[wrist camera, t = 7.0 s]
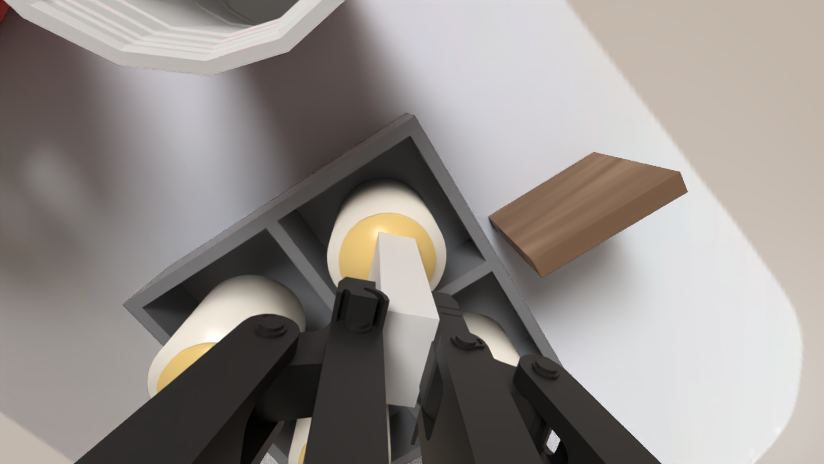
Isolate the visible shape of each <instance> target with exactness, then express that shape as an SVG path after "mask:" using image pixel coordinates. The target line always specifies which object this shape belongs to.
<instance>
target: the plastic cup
mask: <svg viewBox="0 0 824 464" xmlns="http://www.w3.org/2000/svg"><path fill="white" fill-rule="evenodd" d="M4 1H5V2H7V3H8V4H9V5H10V6H11V7H12V8H13V9H14V10H15V11H16V12H17V13H18V14H19V15H21V16H22V17H23V18H24V19H26V20H28V21H30V22H32V23H34V24H36V25H38V26H40V27H42V28H44V29H46V30H49V31H51V32H53V33H55V34H57V35H59V36H61V37H63V38H65V39H67V40H69V41H71V42H73V43H75V44H77V45H79V46H81V47H83V48H85V49H87V50H89V51H91V52H93V53H95V54H97V55H99V56H101V57H103V58H105V59H107V60H109V61H111V62H113V63H115V64H117V65H119V66H128V67H137V68H145V69H154V70H163V71H171V72H180V73H189V74H198V75H206V76H211V75H214V74H217V73H221V72H224V71H227V70H231V69H234V68H237V67H240V66H244V65H247V64H250V63H254V62H257V61H260V60H263V59H267V58H270V57H273V56H277V55H280V54H283V53H286V52H289V51H290V50H291V49H292V48H293V47H294V46H295V45H297V44H298V43H299V42H300V41H301V40H302V39H303V38H304V37H305V36H306V35H308V34H309V33H310V32H311V31H312V30H313V29H314V28H315V27H316V26H317V25H318V24H320V23H321V22H322V21H323V20H324V19H325V18H326V17H327V16H328V15H329V14H331V13H332V12H333V11H334V10H335V9H336V8H337V7H338V6H339V5H340V4H342V3H343V2H344V1H345V0H4Z"/></svg>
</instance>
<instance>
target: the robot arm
mask: <svg viewBox="0 0 824 464" xmlns="http://www.w3.org/2000/svg"><path fill="white" fill-rule="evenodd" d="M419 391H420V396H421V406H420V409H419V413H418V416H417V420H416V423H415V427H414V430H413V434H412V437H411V443H410V445H415V441H416V438H417V437H418V436H419V440H420V447H421V455H422V462H423V464H661V463H660V462H659V461H658V460H657V459H656V458H655V457H654V456H653V455H652V454H651V453H650V452H649V451H648V450H647V449H646V448H645V447H644V446H643V445H642V444H641V443H640V442H639V441H638V440H637V439H636V438H635V437H634V436H633V435H632V434H631V433H630V432H629V431H628V430H627V429H626V428H625V427H624V426H622V425H621V424H620V423H619V422H618V421H617V420H616V419H615V418H614V417H613V416H612V415H611V414H610V413H609V412H608V411H607V410H606V409H605V408H604V407H603V406H602V405H601V404H600V403H599V402H598V401H597V400H596V399H595V398H594V397H593V396H592V395H591V394H590V393H589V392H588V391H587V390H586V389H585V388H584V387H583V386H582V385H581V384H580V383H579V382H578V381H577V380H576V379H575V378H573V377H572V376H571V375H570V374H569V373H568V372H567V371H566V370H565V369H564V368H563V367H562V366H560V365H559V364H558V363H556V362H554V361H552V360H551V359H550V358H547V357H544V356H541V355H533V354H527V355H523V356H522V357H521V358H520V359H519V362H518V364H517V367H516V366H513V365H510V364H507V363H504V362H501V361H499V360H496V359H494V357H493V355H492V353H491V351H490V349H489V346H488V345H487V344H486V343H485V341H484V340H482V339H481V338H480V337H478V336H477V335H474V334H472V333H470V331H469V329H468V327H467V324H466V322H465V320H464V318H463V315H462V312H461V311H460V308H459V305H458V303H457V301H456V300H455V299H454V298H452V297H451V296H450V295H449V294H447V293H442V292H436V291H431V289H430V286H429V283H428V280H427V276H426V273H425V270H424V267H423V263H422V260H421V257H420V253H419V250H418V247H417V244H416V240H415V238H410V237H405V236H400V235H395V234H390V233H385V232H380V231H379V232H378V236H377V241H376V245H375V250H374V254H373V259H372V263H371V268H370V272H369V277H368V280H363V279H357V278H351V277H345V278H343V279H342V280H340V281H339V282H338V287H337V292H336V297H335V302H334V307H333V312H332V317H331V321H330V323H329V324H328V325H327V326H326V327H324V328H322V329H320V330H317V331H312V332H300V329H299V326H298V324H297V323H295V322H294V321H293V320H292V319H290V318H287V317H285V316H281V315H277V314H268V313H267V314H259V315H255V316H251V317H249V318H247V319H246V320H244V321H242V322H241V323H240V324H239V325H238V326H237V327H235V328H234V329H233V330H232V331H231V332H229V333H228V334H227V335H226V336H225V337H224V338H222V339H221V340H220V341H219V342H218V343H216V344H215V345H214V346H213V347H212V348H210V349H209V350H208V351H207V352H206V353H205V354H203V355H202V356H201V357H200V358H199V359H197V360H196V361H195V362H194V363H193V364H192V365H190V366H189V367H188V368H187V369H186V370H184V371H183V372H182V373H181V374H180V375H178V376H177V377H176V378H175V379H174V380H173V381H171V382H170V383H169V384H168V385H167V386H165V387H164V388H163V389H162V390H161V391H160V392H158V393H157V394H156V395H155V396H154V397H152V398H151V399H150V400H149V401H148V402H147V403H145V404H144V405H143V406H142V407H141V408H139V409H138V410H137V411H136V412H135V413H133V414H132V415H131V416H130V417H129V418H128V419H126V420H125V421H124V422H123V423H122V424H120V425H119V426H118V427H117V428H116V429H115V430H113V431H112V432H111V433H110V434H109V435H107V436H106V437H105V438H104V439H103V440H101V441H100V442H99V443H98V444H97V445H96V446H94V447H93V448H92V449H91V450H90V451H88V452H87V453H86V454H85V455H84V456H83V457H81V458H80V459H79V460H78V461H77V462H75V463H74V464H260V462H261V461H262V459H263V458H264V456H265V455H266V453H267V451H268V450H269V448H270V447H271V445H272V444H273V442H274V440H275V439H276V437H277V436H278V434H279V432H280V431H281V429H282V426H283V423H284V421H287V420H295V419H303V418H310V417H312V418H311V424H310V429H309V434H308V439H307V445H306V450H305V455H304V460H303V464H389V452H388V431H387V409H386V404H392V405H399V406H406V407H414V408H415V405H416V401H417V398H418V394H419ZM552 430H553V431H554V432H555V433H556V435H557V436H558V437H559V438H560V442H559V445H558V447H557V450H556V451H555V453H553V452H552V451H551V450H550V449H549V448H548V447H547V445H546V443H547V441H548V438H549V436H550V433H551V431H552Z"/></svg>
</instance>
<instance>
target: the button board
mask: <svg viewBox="0 0 824 464" xmlns="http://www.w3.org/2000/svg"><path fill="white" fill-rule="evenodd" d="M375 179H394V180H398V181H401V182H403V183H405V184H407V185H409V186H411V187H412V188H413V189H415V190H416V191H417V192H418V193H419V194H420V195H421V197H422V198H423V199H424V201H425V203H426V205H427V207H428V209H429V210H430V212H431V214H432V216H433V218H434V220H435V222H436V224H437V226H438V228H439V230H440V231H441V233H442V236H443V239H444V242H445V246H446V264H445V269H444V272H443V275H442V277H441V279H440V281H439V283H438V285H437V286H436V287H435V289H434V290H433V291H436V292H442V293H447V294H449V295H450V296H451V297H452V298H454V299H455V300H456V301H457V303H458V305H459V308H460V311H461V312H462V313H463V312H473V313H479V314H483V315H486V316H488V317H490V318H492V319H494V320H495V321H496V322H498V323H499V324H500V325H501V326H502V328H503V329H504V330H505V332H506V334H507V336H508V337H509V339H510V341H511V342H512V344H513V346H514V348H515V349H516V351H517V353H518V355H519V356H520V358H521V357H522V356H523V355H527V354H533V355H541V356H544V357H547V358H550V359H551V360H552V361H554V362H556V363H558V364H559V365H560V366H562V364H561V362H560V361H559V359H558V357H557V356H556V354H555V352H554V351H553V349H552V347H551V345H550V344H549V342H548V340H547V339H546V337H545V335H544V334H543V332H542V330H541V329H540V327H539V325H538V323H537V322H536V320H535V318H534V317H533V315H532V313H531V312H530V310H529V308H528V307H527V305H526V303H525V301H524V300H523V298H522V296H521V295H520V293H519V291H518V290H517V288H516V286H515V285H514V283H513V281H512V279H511V278H510V276H509V274H508V273H507V271H506V269H505V268H504V266H503V264H502V263H501V261H500V259H499V257H498V256H497V254H496V252H495V251H494V249H493V247H492V246H491V244H490V242H489V240H488V239H487V237H486V235H485V234H484V232H483V230H482V229H481V227H480V225H479V224H478V222H477V220H476V218H475V217H474V215H473V213H472V212H471V210H470V208H469V207H468V205H467V203H466V202H465V200H464V198H463V196H462V195H461V193H460V191H459V190H458V188H457V186H456V185H455V183H454V181H453V180H452V178H451V176H450V174H449V173H448V171H447V169H446V168H445V166H444V164H443V163H442V161H441V159H440V158H439V156H438V154H437V152H436V151H435V149H434V147H433V146H432V144H431V142H430V141H429V139H428V137H427V135H426V134H425V132H424V130H423V129H422V127H421V125H420V124H419V122H418V120H417V119H416V117H415V116H414V115H411V114H408V113H406V114H404V115H403V116H401V117H400V118H398V119H396V120H395V121H393V122H392V123H390V124H389V125H387V126H386V127H384V128H383V129H381V130H379V131H378V132H376V133H375V134H373V135H372V136H370V137H369V138H367V139H366V140H364V141H362V142H361V143H359V144H358V145H356V146H355V147H353V148H352V149H350V150H349V151H347V152H345V153H344V154H342V155H341V156H339V157H338V158H336V159H335V160H333V161H332V162H330V163H329V164H327V165H325V166H324V167H322V168H321V169H319V170H318V171H316V172H315V173H313V174H312V175H310V176H308V177H307V178H305V179H304V180H302V181H301V182H299V183H298V184H296V185H295V186H293V187H291V188H290V189H288V190H287V191H285V192H284V193H282V194H281V195H279V196H278V197H276V198H274V199H273V200H271V201H270V202H268V203H267V204H265V205H264V206H262V207H261V208H259V209H257V210H256V211H254V212H253V213H251V214H250V215H248V216H247V217H245V218H244V219H242V220H240V221H239V222H237V223H236V224H234V225H233V226H231V227H230V228H228V229H227V230H225V231H223V232H222V233H220V234H219V235H217V236H216V237H214V238H213V239H211V240H210V241H208V242H207V243H205V244H203V245H202V246H200V247H199V248H197V249H196V250H194V251H193V252H191V253H190V254H188V255H186V256H185V257H183V258H182V259H180V260H179V261H177V262H176V263H174V264H173V265H171V266H169V267H168V268H167V269H165V270H164V271H163V272H162V273H160V274H159V275H158V276H157V277H156V278H154V279H153V280H152V281H151V282H149V283H148V284H147V285H146V286H145V287H143V288H142V289H141V290H140V291H138V292H137V293H136V294H135V295H133V296H132V297H131V298H130V299H129V300H127V301H126V302H125V303H124V304H122V305H123V306H124V307H125V308H126V309H127V310H128V311H129V312H130V313H131V314H132V315H133V316H134V317H135V318H136V319H137V320H138V321H139V322H140V323H141V324H142V325H143V326H144V327H145V328H146V329H147V330H148V331H149V332H150V333H151V334H152V335H153V336H154V337H155V338H156V339H157V340H158V341H159V342H160V343H161V344H162V345H163V346H165V344H166V343H167V342H168V341H169V340H170V338H171V337H172V336H173V335H174V334H175V333H176V331H177V330H178V329H179V328H180V327H181V326H182V324H183V323H184V322H185V321H186V320H187V319H188V317H189V316H190V315H191V314H192V313H193V311H194V310H195V309H196V308H197V307H198V306H199V304H200V303H201V302H202V301H203V300H204V299H205V297H206V296H207V295H208V294H209V293H210V291H211V290H212V289H213V288H215V287H216V286H217V285H218V284H220V283H221V282H223V281H225V280H227V279H230V278H232V277H236V276H241V275H260V276H264V277H268V278H271V279H274V280H276V281H278V282H280V283H282V284H283V285H285V286H286V287H287V288H289V289H290V290H291V291H292V292H293V293H294V294H295V295H296V297H297V298H298V299H299V301H300V303H301V305H302V307H303V309H304V312H305V318H306V327H305V332H312V331H317V330H320V329H322V328H324V327H326V326H327V325H328V324H329V323H330V321H331V317H332V312H333V307H334V302H335V297H336V292H337V287H336V285H335V284H334V282H333V280H332V278H331V276H330V272H329V269H328V263H327V252H328V246H329V242H330V238H331V235H332V232H333V228H334V225H335V222H336V219H337V215H338V212H339V209H340V207H341V204H342V203H343V201H344V199H345V198H346V197H347V195H348V194H349V193H350V192H351V191H352V190H353V189H355V188H356V187H357V186H359V185H361V184H363V183H365V182H367V181H370V180H375ZM562 367H563V366H562ZM420 406H421V396H420V391H419V394H418V398H417V401H416V405H415V408H414V407H406V406H399V405H392V404H388V408H389V427H390V446H391V463H390V464H407V463H409V462H410V461H412V460H414V459H416V458H417V457H419V456H421V447H420V440H419V436H418V437H417V438H416V441H415V445H410V443H411V437H412V434H413V430H414V427H415V423H416V420H417V416H418V413H419V409H420ZM296 423H297V419H295V420H287V421H284V423H283V426H282V429H281V431H280V432H279V434H278V436H277V437H276V439H275V440H274V442H273V444H272V445H271V447H270V448H269V450H268V451H267V452H268V453H269V454H270V455H271V456H272V457H273V458H274V459H275V460H276V461H277V462H278V463H279V464H289V463H288V459H289V452H290V448H291V444H292V440H293V436H294V431H295V427H296Z"/></svg>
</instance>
